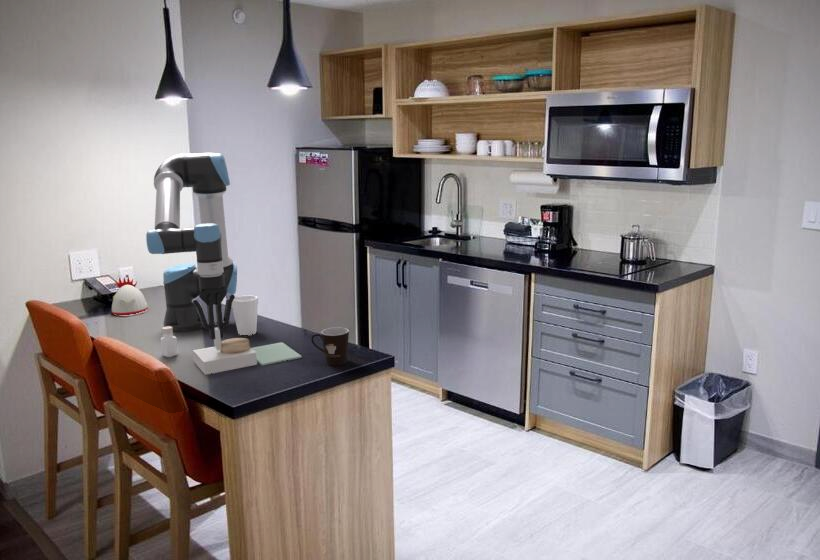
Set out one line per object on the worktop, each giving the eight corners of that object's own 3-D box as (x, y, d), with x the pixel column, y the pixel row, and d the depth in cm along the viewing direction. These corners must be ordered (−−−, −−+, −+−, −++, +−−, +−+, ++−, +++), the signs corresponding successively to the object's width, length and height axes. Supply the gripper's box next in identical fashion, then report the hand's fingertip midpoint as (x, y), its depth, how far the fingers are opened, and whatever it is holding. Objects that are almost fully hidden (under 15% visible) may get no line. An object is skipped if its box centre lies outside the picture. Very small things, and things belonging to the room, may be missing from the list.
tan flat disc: (217, 348, 216) (216, 340, 215) (245, 343, 220) (244, 336, 220) (224, 355, 208) (223, 348, 208) (253, 350, 213) (252, 343, 212)
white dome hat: (114, 310, 286) (109, 275, 283) (149, 306, 290) (145, 272, 287) (110, 318, 273) (105, 281, 270) (147, 314, 277) (142, 278, 274)
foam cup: (231, 332, 248) (228, 297, 245) (256, 328, 252) (253, 294, 249) (237, 338, 240) (234, 302, 237) (263, 334, 244) (260, 299, 241)
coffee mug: (356, 361, 212) (354, 330, 210) (335, 368, 206) (333, 337, 203) (331, 354, 219) (329, 324, 217) (310, 361, 213) (308, 330, 211)
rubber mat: (244, 350, 226) (244, 349, 225) (282, 343, 232) (282, 342, 232) (262, 365, 210) (262, 363, 210) (301, 357, 217) (301, 355, 217)
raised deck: (194, 362, 216) (193, 350, 215) (243, 352, 223) (242, 341, 223) (205, 374, 204) (204, 362, 203) (257, 364, 212) (256, 352, 211)
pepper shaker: (172, 352, 226) (169, 325, 224) (179, 354, 224) (176, 327, 222) (161, 355, 223) (158, 328, 221) (168, 358, 221) (164, 330, 219)
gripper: (192, 279, 200) (199, 355, 205) (235, 273, 207) (242, 348, 212) (186, 275, 207) (194, 349, 212) (229, 270, 213) (235, 342, 218)
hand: (218, 348), depth 212 cm, fingers closed
